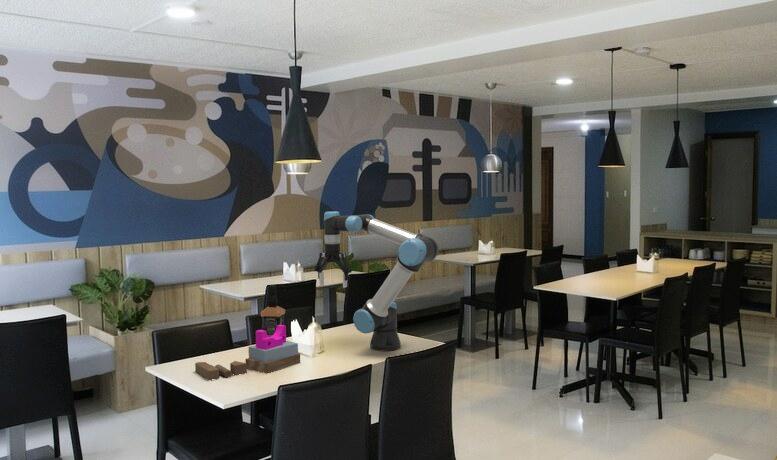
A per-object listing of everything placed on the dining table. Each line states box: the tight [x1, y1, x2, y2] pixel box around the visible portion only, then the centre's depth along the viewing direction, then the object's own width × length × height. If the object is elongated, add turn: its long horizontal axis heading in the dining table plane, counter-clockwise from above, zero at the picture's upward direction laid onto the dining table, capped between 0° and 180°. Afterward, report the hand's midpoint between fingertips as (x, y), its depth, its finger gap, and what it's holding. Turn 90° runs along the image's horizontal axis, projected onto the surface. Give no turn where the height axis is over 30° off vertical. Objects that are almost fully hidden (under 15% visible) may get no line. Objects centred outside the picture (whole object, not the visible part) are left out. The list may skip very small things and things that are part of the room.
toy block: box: [255, 324, 287, 350], centre depth 287 cm, size 15×6×8 cm, turn 145°
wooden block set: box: [194, 360, 248, 381], centre depth 278 cm, size 17×6×18 cm
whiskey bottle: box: [260, 284, 286, 337], centre depth 314 cm, size 10×10×32 cm
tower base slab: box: [244, 352, 301, 374], centre depth 288 cm, size 14×20×5 cm
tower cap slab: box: [248, 340, 299, 363], centre depth 288 cm, size 12×18×5 cm, turn 136°
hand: (333, 286), depth 316 cm, fingers open, 13 cm apart
